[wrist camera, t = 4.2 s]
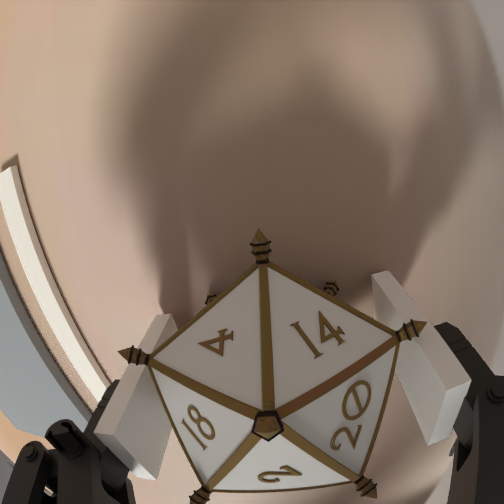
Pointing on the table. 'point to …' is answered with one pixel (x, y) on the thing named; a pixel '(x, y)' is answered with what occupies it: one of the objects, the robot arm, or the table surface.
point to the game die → (276, 384)
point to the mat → (31, 371)
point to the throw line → (46, 282)
